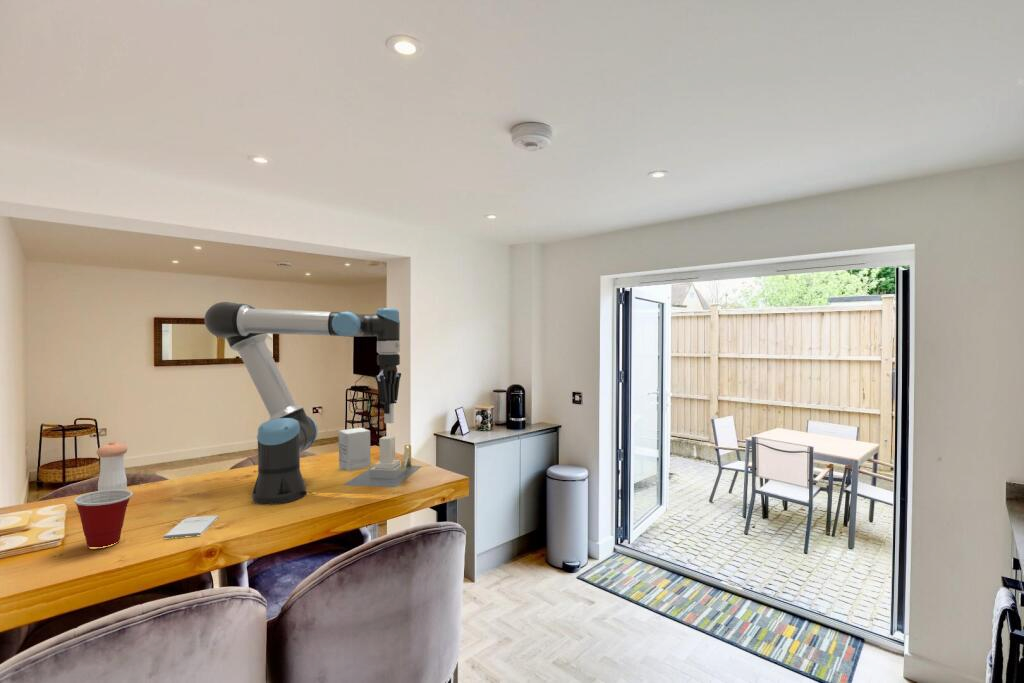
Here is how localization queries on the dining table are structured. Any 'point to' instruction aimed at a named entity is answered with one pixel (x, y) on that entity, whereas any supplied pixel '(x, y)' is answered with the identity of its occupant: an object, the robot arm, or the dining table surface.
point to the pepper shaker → (112, 467)
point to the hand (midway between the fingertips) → (388, 422)
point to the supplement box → (354, 449)
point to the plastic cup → (103, 515)
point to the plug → (387, 453)
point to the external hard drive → (191, 526)
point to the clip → (406, 457)
